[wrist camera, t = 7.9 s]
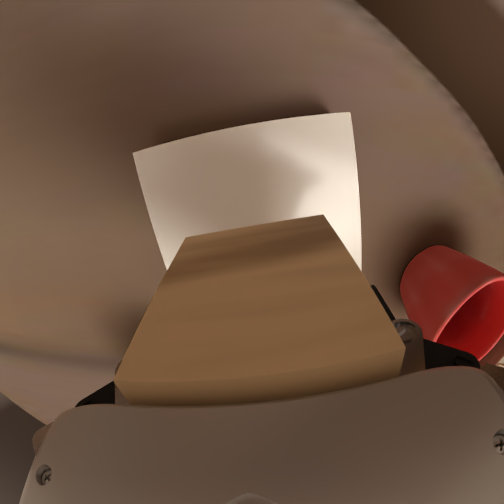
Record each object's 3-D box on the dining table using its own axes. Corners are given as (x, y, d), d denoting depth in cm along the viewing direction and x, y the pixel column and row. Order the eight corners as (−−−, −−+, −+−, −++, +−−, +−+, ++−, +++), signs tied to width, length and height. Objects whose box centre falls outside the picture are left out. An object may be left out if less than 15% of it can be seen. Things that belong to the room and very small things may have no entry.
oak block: (185, 237, 12) (112, 380, 5) (323, 214, 12) (405, 347, 5) (217, 340, 15) (198, 479, 8) (330, 324, 14) (369, 461, 7)
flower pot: (476, 268, 26) (525, 314, 17) (414, 331, 30) (448, 390, 21) (441, 208, 23) (506, 251, 14) (367, 286, 27) (405, 354, 18)
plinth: (156, 145, 21) (132, 152, 17) (330, 113, 20) (350, 112, 16) (197, 293, 27) (188, 326, 23) (344, 269, 26) (360, 300, 22)
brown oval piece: (523, 288, 28) (542, 305, 23) (534, 310, 30) (549, 326, 26) (429, 392, 36) (439, 414, 32) (451, 399, 39) (461, 418, 34)
